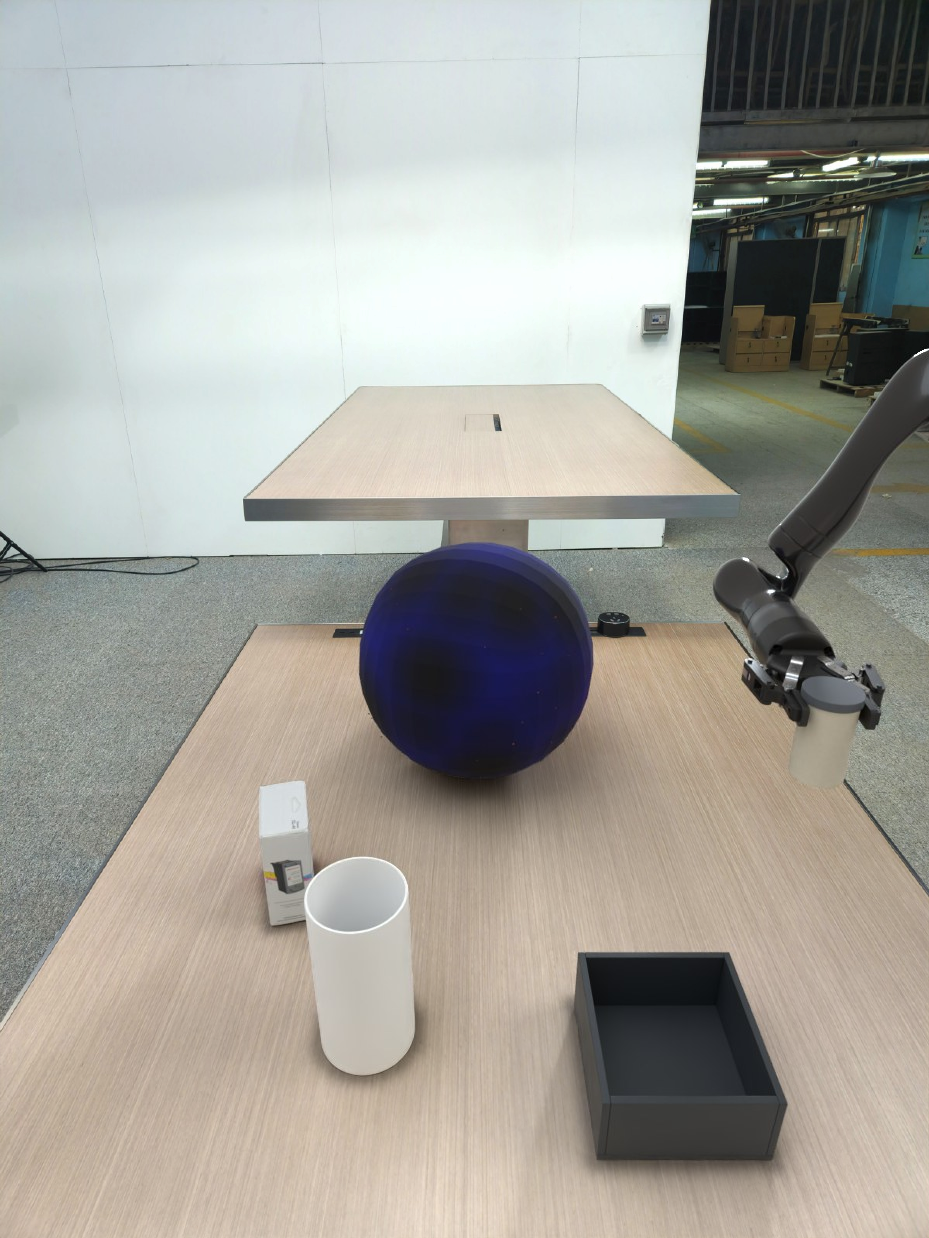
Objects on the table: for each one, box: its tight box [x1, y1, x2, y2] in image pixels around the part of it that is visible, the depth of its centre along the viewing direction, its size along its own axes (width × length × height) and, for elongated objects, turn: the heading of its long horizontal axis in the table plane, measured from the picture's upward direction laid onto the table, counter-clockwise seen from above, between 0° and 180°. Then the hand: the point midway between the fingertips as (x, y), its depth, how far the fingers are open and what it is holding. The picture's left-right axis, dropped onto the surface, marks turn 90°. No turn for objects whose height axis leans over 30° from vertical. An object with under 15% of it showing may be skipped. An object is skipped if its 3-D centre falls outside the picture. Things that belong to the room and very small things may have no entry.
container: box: [787, 676, 866, 790], centre depth 76 cm, size 6×6×10 cm
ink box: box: [258, 779, 315, 926], centre depth 78 cm, size 9×5×12 cm, turn 14°
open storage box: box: [573, 951, 789, 1161], centre depth 61 cm, size 13×13×7 cm
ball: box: [358, 529, 595, 780], centre depth 99 cm, size 35×31×30 cm
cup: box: [304, 856, 416, 1076], centre depth 63 cm, size 8×8×16 cm
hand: (838, 720), depth 73 cm, fingers closed on container, 5 cm apart
